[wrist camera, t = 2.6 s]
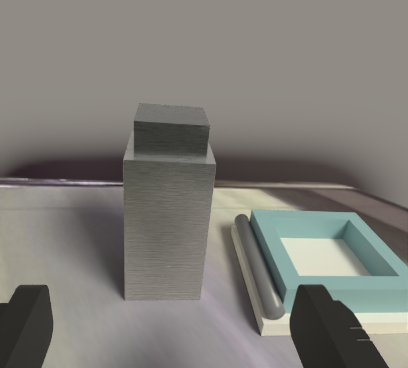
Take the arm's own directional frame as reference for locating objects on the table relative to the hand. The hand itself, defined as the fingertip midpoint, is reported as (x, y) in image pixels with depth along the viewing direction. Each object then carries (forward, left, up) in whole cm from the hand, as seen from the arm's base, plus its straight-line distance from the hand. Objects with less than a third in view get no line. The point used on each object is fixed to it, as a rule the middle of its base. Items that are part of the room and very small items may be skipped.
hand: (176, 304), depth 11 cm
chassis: (+12, +11, -9) cm, 19 cm away
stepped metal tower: (0, +11, -9) cm, 14 cm away
